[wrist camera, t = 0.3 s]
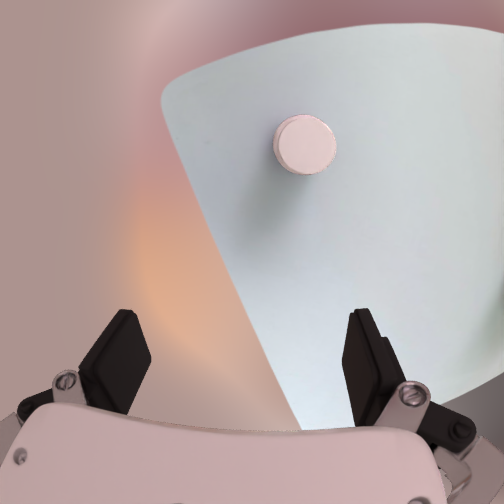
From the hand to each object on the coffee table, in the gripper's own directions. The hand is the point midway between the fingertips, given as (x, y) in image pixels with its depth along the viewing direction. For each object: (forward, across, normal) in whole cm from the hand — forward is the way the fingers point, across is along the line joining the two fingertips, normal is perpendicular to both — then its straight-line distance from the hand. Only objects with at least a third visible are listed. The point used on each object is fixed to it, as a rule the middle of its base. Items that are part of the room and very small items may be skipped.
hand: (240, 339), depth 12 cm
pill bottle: (+19, -4, -7) cm, 21 cm away
